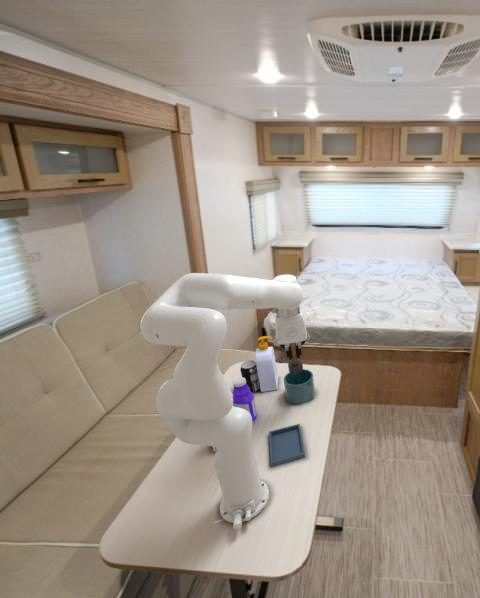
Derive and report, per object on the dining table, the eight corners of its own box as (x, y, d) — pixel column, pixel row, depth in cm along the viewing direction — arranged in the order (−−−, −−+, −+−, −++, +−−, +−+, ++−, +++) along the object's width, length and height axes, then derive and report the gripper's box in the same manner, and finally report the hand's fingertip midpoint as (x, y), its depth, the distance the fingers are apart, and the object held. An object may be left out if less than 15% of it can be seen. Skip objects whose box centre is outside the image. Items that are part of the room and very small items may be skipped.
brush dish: (305, 457, 110) (304, 453, 109) (271, 467, 106) (270, 462, 105) (300, 427, 122) (299, 423, 121) (269, 435, 118) (269, 431, 118)
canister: (317, 400, 136) (314, 381, 132) (287, 407, 132) (284, 388, 128) (312, 384, 145) (310, 366, 142) (285, 390, 141) (282, 372, 138)
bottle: (260, 415, 128) (253, 376, 121) (252, 425, 123) (244, 385, 116) (242, 413, 128) (233, 374, 122) (233, 424, 123) (224, 384, 117)
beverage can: (245, 385, 145) (240, 361, 140) (262, 382, 146) (257, 358, 142) (243, 394, 139) (238, 369, 134) (261, 391, 141) (256, 367, 136)
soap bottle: (279, 389, 142) (271, 341, 133) (261, 392, 140) (252, 343, 131) (280, 377, 150) (272, 331, 141) (263, 380, 148) (254, 333, 139)
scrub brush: (303, 372, 124) (300, 345, 120) (289, 375, 122) (285, 348, 118) (302, 365, 128) (299, 339, 124) (288, 367, 127) (284, 341, 123)
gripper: (263, 318, 111) (271, 367, 117) (314, 311, 116) (318, 358, 123) (263, 310, 117) (270, 356, 124) (310, 303, 123) (315, 348, 129)
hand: (294, 357), depth 123 cm, fingers closed on scrub brush, 2 cm apart
